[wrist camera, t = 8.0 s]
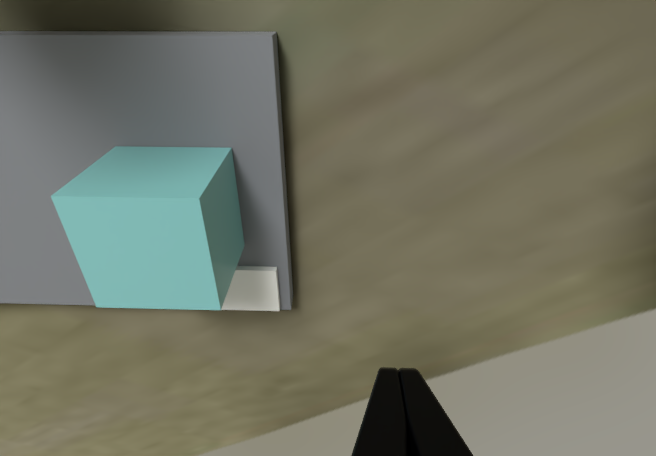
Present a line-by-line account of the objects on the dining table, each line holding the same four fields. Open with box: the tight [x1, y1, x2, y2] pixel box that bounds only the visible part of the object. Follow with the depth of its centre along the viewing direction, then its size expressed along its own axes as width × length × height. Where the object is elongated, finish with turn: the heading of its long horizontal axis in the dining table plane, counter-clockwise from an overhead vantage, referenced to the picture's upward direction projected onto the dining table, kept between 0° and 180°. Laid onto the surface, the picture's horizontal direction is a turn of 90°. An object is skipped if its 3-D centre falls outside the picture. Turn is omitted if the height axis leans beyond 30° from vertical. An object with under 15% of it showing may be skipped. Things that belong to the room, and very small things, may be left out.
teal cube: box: [51, 146, 245, 310], centre depth 15 cm, size 4×4×4 cm
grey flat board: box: [0, 31, 293, 311], centre depth 17 cm, size 20×12×1 cm, turn 90°
